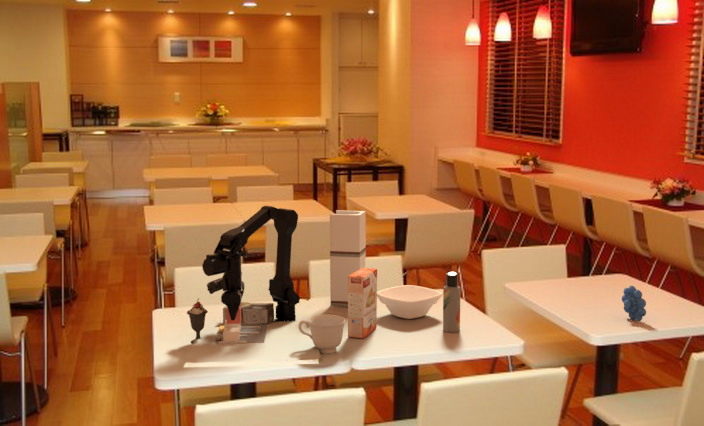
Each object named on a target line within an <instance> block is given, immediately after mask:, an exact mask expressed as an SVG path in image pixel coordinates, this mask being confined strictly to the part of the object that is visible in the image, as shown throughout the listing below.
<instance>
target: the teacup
mask: <svg viewBox="0 0 704 426" xmlns="http://www.w3.org/2000/svg"><path fill="white" fill-rule="evenodd" d="M346 322H347V319H346V318H345V317H344V316H341V315H338V314H319V315H314V316H311V317H310V318H308V319H307V320H306V319H302V320H300V321H299V323H298V330H299V332H300V333H301V334H303V335H306V336H307V337H309V338H310V339H311V341H312V344H313V345H314V346H315V347H316V348H318V349H319V353H320V354H333V353H335V352H337V348H338V347H339V346H340V345H341V343H342V341H343V332H344V327H345V323H346ZM303 324H305V325H306V328H310V333H311V334H310V333H309V332H307V331H305V330H304V329H303V328H302V325H303Z"/></svg>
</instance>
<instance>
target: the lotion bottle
mask: <svg viewBox="0 0 704 426" xmlns="http://www.w3.org/2000/svg"><path fill="white" fill-rule="evenodd" d="M445 275H446V277H445V278H446V280H445V285H444V286H443V289H442V290H443V291H442V292H443V293H442V298H443V299H442V301H443V304H442V330H443V331H444V332H446V333H451V334H452V333H458V332H460V330H461V286H459V274H458V273H457V272H456V271H449V272H446V274H445Z"/></svg>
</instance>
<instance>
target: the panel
mask: <svg viewBox="0 0 704 426" xmlns="http://www.w3.org/2000/svg"><path fill="white" fill-rule="evenodd" d="M267 325H268V324H241V330H240V340H239V341H223V331H224V325H219V328H218V330H217V334H216V336H215V338H214V341H213V345H222V344H223V345H224V344H256V343H257V344H262V343H263V344H264V343H265V339H266V332H267Z"/></svg>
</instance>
